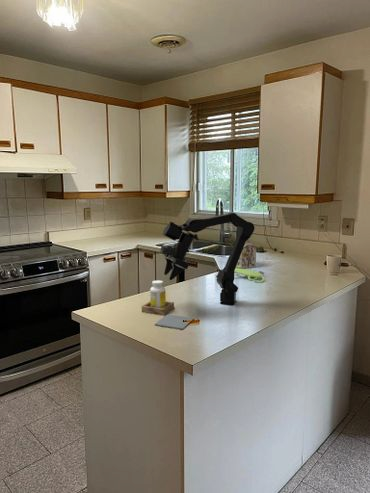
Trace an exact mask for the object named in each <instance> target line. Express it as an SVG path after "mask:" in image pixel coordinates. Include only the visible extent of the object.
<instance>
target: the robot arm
mask: <svg viewBox="0 0 370 493" xmlns="http://www.w3.org/2000/svg"><path fill="white" fill-rule="evenodd" d="M228 223H231V224H232V225H233V226H234V227H235V228H236V229H235V240H234V242H233V244H232V247H231V250H230V253H229V254H228V258H227V261H226V263H225V265H224V267H223V268H222V269H220V268H219V269H218V270H217V271H218V272H217V274H216V276H215V278H216V283H217V285H219V288H220V289H221V290H220V291H221V292H220V293H219V301H220V302H219V304H220V305H228V306H234V305H235V304H236V303H238V300H237V292H238V290H239V287H238V286H237V285H236V284H235V283H234V282H235V277H236V276H235V274H236V273H234V271H235V268H236V266H237V263H238V260H239V258H240V255H241V253H242V250H243V248H244V245H245V242H246V241H247V240H249V239H250V238H251V237H252V235H253V233H254V232H255V225H254V223H253V222H250V221H247V220H245V219H244V218H242V217H241V216H240V215H238V214H237V213H235V212H228V213H224V214H219V215H214V216H209V217H201V218H200V217H193V218H192V217H191V218H188V219H187V220H186V221H185V222H183V223H182V224H181V225H178V224H176V223H175V222H172V221H169V222H168V223H167V225H166V226H165V227H164V228H163V229H164V230H163V232H162V236H164V237H166V238H168V239H170V240H173V241H174V242H175V241H177V240H178V241H177V243H174V245H161V246H160V252H159V253H160V254H162V255H164V260H165V268H164V272H163V275H165V276H167V275H169V273H170V272H171V273H170V275H169V278H168V279H169V280H170V281H172V280H173V279H175V278H176V277H177V276H179V275H180V274H181V273H182V272H184V271H185V270H188V268H189V266H190V265H189V262H188V261H187V260H186V258H185V257H186V256H187V253H188V254H189V253H190V247H191V246H192V244H193V241H194V240H196V241H199V240H200V239H199V237H198V233H199V232H201V231H203V230H205V229H207V228H209V227H214V226H219V225H223V224H228ZM184 231H185V232H184ZM191 232H192V233H191ZM193 233H194V234H193ZM236 269H237V268H236Z"/></svg>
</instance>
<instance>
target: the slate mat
mask: <svg viewBox="0 0 370 493" xmlns="http://www.w3.org/2000/svg"><path fill="white" fill-rule="evenodd" d="M183 320H193V321H194V320H195V317H189V316H182V315H176V314H170V313H169V314H168V313H166V314H165V315H164V316H163V317H162V318H160V319H159V320H158V321H157V322H155V323H154V326H155V325H156V326H157V327H161V328H167V327H168V329H173V328H174V329H175V330H180V331H181V330H182V331H184V329H186V328H187V327H188V326H189V325H190V324H191V323H190V322H183ZM189 323H190V324H189ZM188 324H189V325H188ZM156 326H155V327H156ZM174 329H173V330H174Z"/></svg>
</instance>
